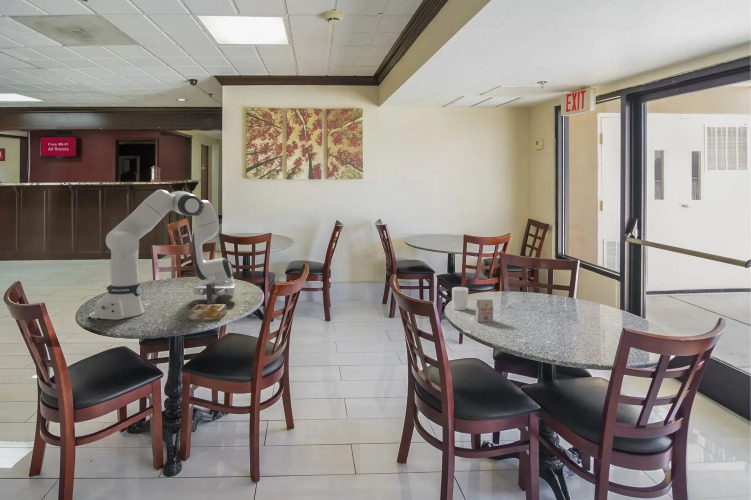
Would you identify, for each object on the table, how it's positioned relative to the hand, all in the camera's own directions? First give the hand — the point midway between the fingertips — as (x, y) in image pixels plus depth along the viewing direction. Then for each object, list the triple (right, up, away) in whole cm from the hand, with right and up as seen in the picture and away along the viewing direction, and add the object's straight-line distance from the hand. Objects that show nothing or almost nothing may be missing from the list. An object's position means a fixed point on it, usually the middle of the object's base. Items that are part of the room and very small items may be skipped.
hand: (210, 293), depth 224 cm
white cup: (+121, -8, +3) cm, 122 cm away
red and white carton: (+129, -11, -17) cm, 130 cm away
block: (0, -7, +2) cm, 7 cm away
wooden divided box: (+3, -9, -12) cm, 15 cm away
